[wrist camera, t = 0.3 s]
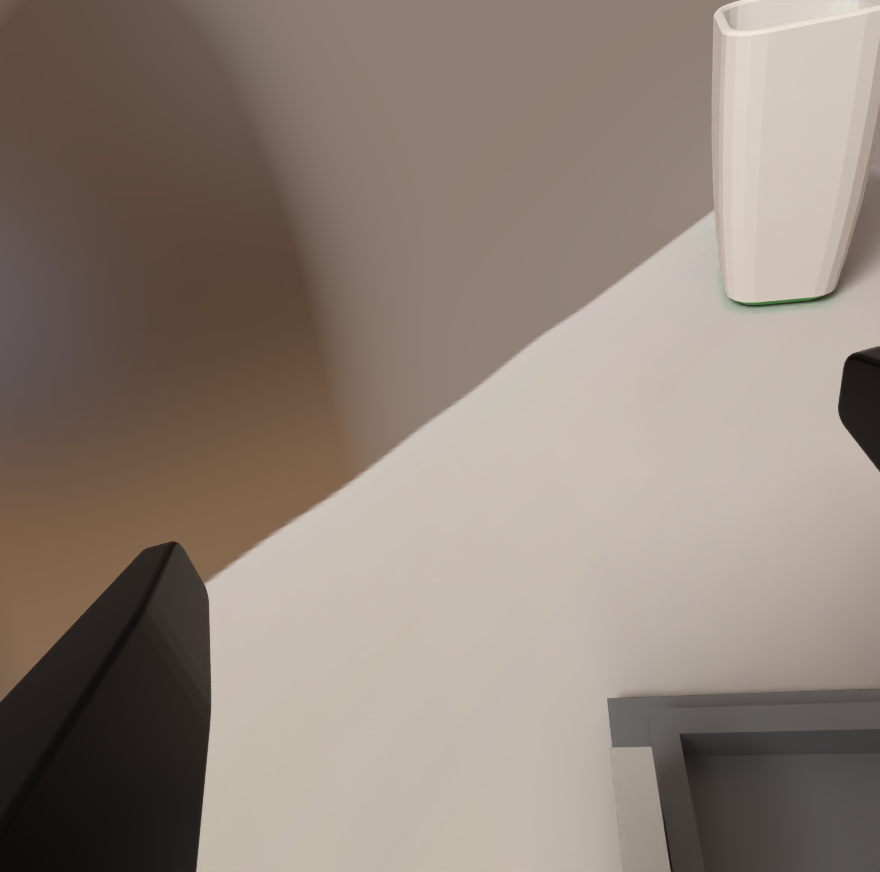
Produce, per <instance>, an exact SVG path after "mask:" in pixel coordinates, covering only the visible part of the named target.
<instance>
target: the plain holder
mask: <svg viewBox="0 0 880 872" xmlns="http://www.w3.org/2000/svg"><path fill="white" fill-rule="evenodd" d="M607 701H608V710H609V719H610V728H611V738H612V747H613V748H610V752H611V762H612V771H613V780H614V790H615V799H616V808H617V818H618V827H619V836H620V846H621V855H622V865H623V872H880V689H861V690H833V691H804V692H776V693H748V694H719V695H691V696H662V697H634V698H607Z"/></svg>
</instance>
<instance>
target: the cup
mask: <svg viewBox="0 0 880 872" xmlns="http://www.w3.org/2000/svg"><path fill="white" fill-rule="evenodd" d="M712 67H713V69H712V162H713V163H712V164H713V193H714V208H715V222H716V234H717V244H718V253H719V263H720V270H721V275H722V279H723V284H724V288H725V293H726V294H727V296H728V297H729V298H731V299H733V300H735V301H737V302H739V303H741V304H746V305H764V304H775V303H786V302H798V301H808V300H813V299H816V298H818V297H821V296H823V295H826V294H828V293H830V292H832V291H833V290H834V289H835V288H836V286H837V283H838V280H839V277H840V274H841V271H842V268H843V265H844V262H845V259H846V256H847V253H848V250H849V247H850V243H851V240H852V236H853V233H854V229H855V226H856V223H857V219H858V216H859V212H860V209H861V205H862V202H863V198H864V194H865V189H866V185H867V181H868V177H869V172H870V168H871V164H872V160H873V156H874V151H875V147H876V143H877V138H878V133H879V128H880V0H740V1H736V2H733V3H730V4H727V5H724V6H723V7H721V8H719V9H718V10H717V11H716V12H715V14H714V27H713V66H712Z"/></svg>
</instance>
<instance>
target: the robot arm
mask: <svg viewBox="0 0 880 872" xmlns="http://www.w3.org/2000/svg"><path fill="white" fill-rule="evenodd" d="M838 411H839V416H840V419H841V421H842V423H843V425H844V426H845V428H846V429H847V430H848V432H849V433H850V434H851V435H852V437H853V438H854V439H855V441H856V442H857V443H858V444H859V446H860V447H861V448H862V450H863V451H864V452H865V453H866V455H867V456H868V457H869V459H870V460H871V461H872V462H873V464H874V465H875V466H876V468H877V469H878V470H879V471H880V346H878V347H874V348H870V349H866V350H863V351H859V352H856V353H853V354H851V355H850V356H849V357H848V358H847V359H846V361H845V363H844V367H843V375H842V382H841V389H840V396H839V403H838ZM210 718H211V664H210V625H209V599H208V594H207V590H206V587H205V585H204V583H203V581H202V579H201V578H200V576H199V574H198V572H197V571H196V569H195V567H194V565H193V564H192V562H191V560H190V559H189V557H188V555H187V553H186V551H185V550H184V548H183V547H182V546H181V545H180V544H179V543H177V542H174V541H172V542H168V543H164V544H160V545H157V546H153V547H150V548H147V549H145V550H143V551H142V552H141V553H140V554H139V555H138V556H137V557H136V558H135V559H134V560H133V561H132V563H131V564H130V565H129V566H128V567H127V568H126V569H125V570H124V571H123V572H122V573H121V574H120V575H119V576H118V577H117V578H116V580H115V581H114V582H113V583H112V584H111V585H110V586H109V587H108V588H107V589H106V590H105V591H104V592H103V593H102V594H101V596H100V597H99V598H98V599H97V600H96V601H95V602H94V603H93V604H92V605H91V606H90V607H89V608H88V609H87V610H86V612H85V613H84V614H83V615H82V616H81V617H80V618H79V619H78V620H77V621H76V622H75V623H74V625H72V626H71V628H70V629H69V630H68V631H67V632H66V633H65V634H64V635H63V636H62V637H61V638H60V639H59V640H58V641H57V642H56V643H55V645H54V646H53V647H52V648H51V649H50V650H49V651H48V652H47V653H46V654H45V655H44V656H43V657H42V659H40V661H39V662H38V663H37V664H36V665H35V666H34V667H33V668H32V669H31V670H30V671H29V672H28V673H27V674H26V675H25V676H24V678H23V679H22V680H21V681H20V682H19V683H18V684H17V685H16V686H15V687H14V688H13V689H12V690H11V691H10V692H9V694H8V695H7V696H6V697H5V698H4V699H3V700H2V701H1V702H0V872H196V869H197V858H198V848H199V837H200V826H201V816H202V805H203V795H204V784H205V774H206V763H207V753H208V742H209V731H210Z"/></svg>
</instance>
